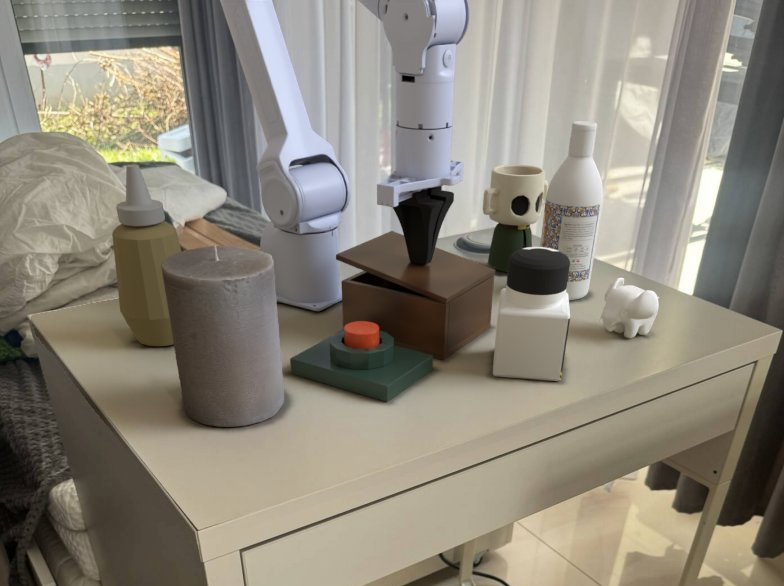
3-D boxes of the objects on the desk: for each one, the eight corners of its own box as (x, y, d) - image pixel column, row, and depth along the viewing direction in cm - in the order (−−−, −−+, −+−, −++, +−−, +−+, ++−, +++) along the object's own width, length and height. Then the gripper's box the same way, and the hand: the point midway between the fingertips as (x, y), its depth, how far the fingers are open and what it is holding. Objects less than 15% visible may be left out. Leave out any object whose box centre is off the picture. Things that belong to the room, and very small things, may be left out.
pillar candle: (167, 399, 76) (138, 241, 67) (256, 374, 80) (239, 224, 71) (213, 439, 69) (187, 271, 60) (305, 409, 74) (294, 249, 65)
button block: (290, 373, 81) (288, 341, 79) (341, 345, 87) (339, 315, 85) (387, 402, 76) (387, 369, 74) (432, 370, 82) (434, 338, 80)
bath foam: (541, 281, 106) (562, 116, 94) (592, 288, 104) (619, 120, 92) (529, 297, 100) (548, 124, 88) (582, 304, 98) (609, 129, 86)
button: (337, 345, 79) (336, 329, 78) (357, 334, 81) (357, 318, 80) (366, 353, 78) (366, 336, 76) (386, 341, 80) (386, 325, 79)
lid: (335, 259, 85) (335, 254, 84) (391, 235, 93) (391, 230, 92) (445, 304, 80) (446, 298, 80) (494, 274, 88) (495, 269, 88)
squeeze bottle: (112, 337, 88) (74, 165, 77) (173, 319, 92) (145, 154, 82) (152, 358, 83) (117, 178, 72) (214, 337, 88) (190, 166, 77)
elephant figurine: (581, 329, 92) (589, 279, 88) (632, 318, 95) (642, 269, 91) (620, 350, 87) (630, 298, 83) (672, 337, 90) (684, 287, 87)
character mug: (494, 282, 105) (503, 179, 97) (463, 268, 110) (469, 168, 102) (554, 269, 110) (567, 170, 102) (522, 256, 114) (532, 160, 107)
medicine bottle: (560, 382, 80) (578, 265, 73) (492, 377, 81) (502, 260, 74) (559, 355, 86) (575, 243, 78) (495, 350, 86) (505, 239, 79)
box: (343, 334, 90) (341, 280, 86) (395, 305, 97) (395, 255, 94) (443, 360, 84) (446, 304, 80) (490, 327, 92) (494, 275, 88)
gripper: (421, 139, 71) (417, 286, 79) (491, 119, 81) (482, 252, 89) (358, 131, 74) (361, 274, 82) (433, 113, 84) (429, 242, 92)
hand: (420, 262), depth 86 cm, fingers closed
